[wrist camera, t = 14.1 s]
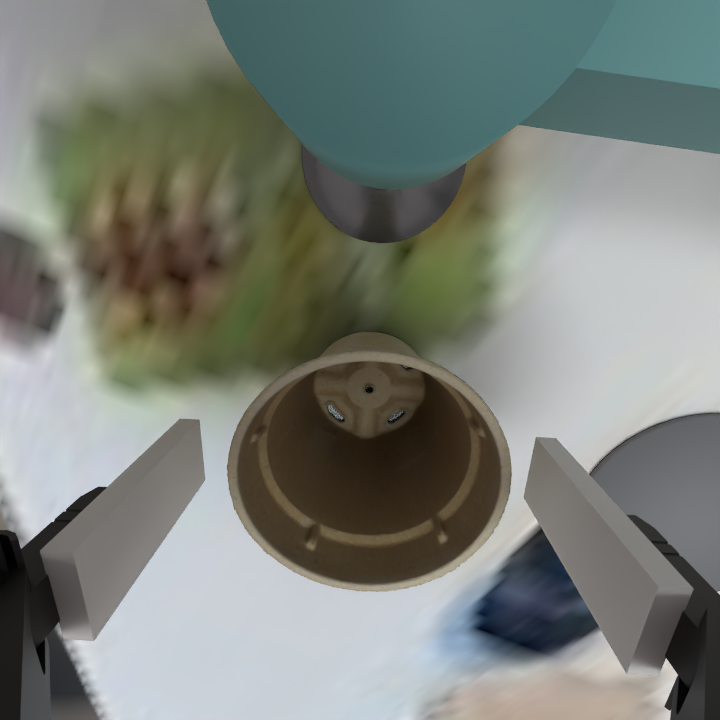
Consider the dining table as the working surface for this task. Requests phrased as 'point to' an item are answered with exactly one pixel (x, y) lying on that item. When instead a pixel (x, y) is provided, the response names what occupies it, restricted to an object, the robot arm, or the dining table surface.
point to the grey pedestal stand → (378, 203)
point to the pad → (673, 486)
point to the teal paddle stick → (475, 75)
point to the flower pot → (369, 468)
